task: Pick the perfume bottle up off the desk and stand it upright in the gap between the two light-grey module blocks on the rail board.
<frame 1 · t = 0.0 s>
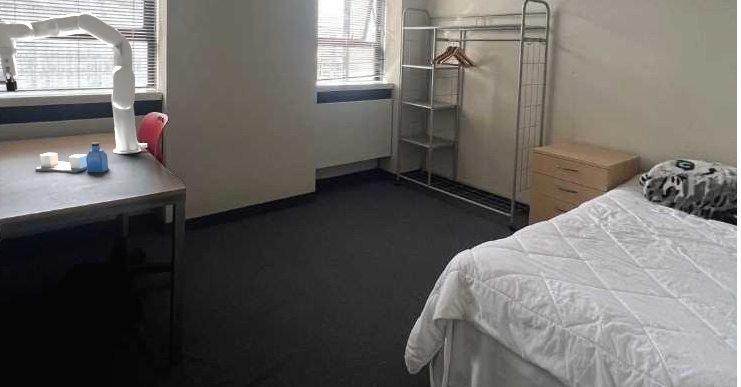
hand: (12, 90, 242), 31 cm above the table, fingers open, 9 cm apart
module rail: (64, 168, 232), on the table
perfume bottle: (98, 170, 230), on the table
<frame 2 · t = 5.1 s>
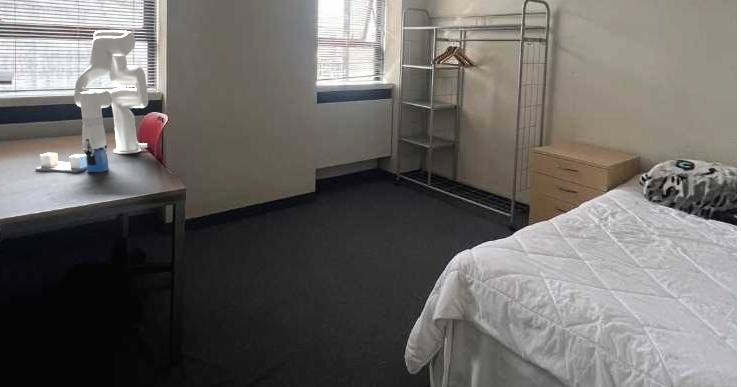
hand: (97, 162, 229), 3 cm above the table, fingers closed on perfume bottle, 7 cm apart
perfume bottle: (98, 170, 230), on the table, touching gripper
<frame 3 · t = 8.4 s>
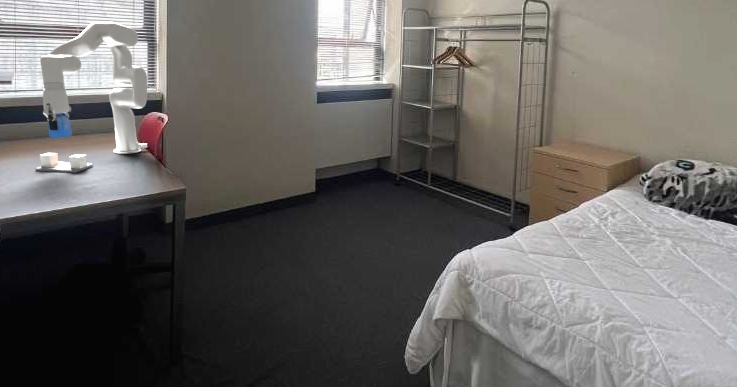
hand: (60, 128, 227), 17 cm above the table, fingers closed on perfume bottle, 7 cm apart
perfume bottle: (61, 136, 228), point 14 cm above the table, touching gripper
when the fingers open (6 cm above the table, at t = 11.5 s): perfume bottle stays where it is, resting on module rail.
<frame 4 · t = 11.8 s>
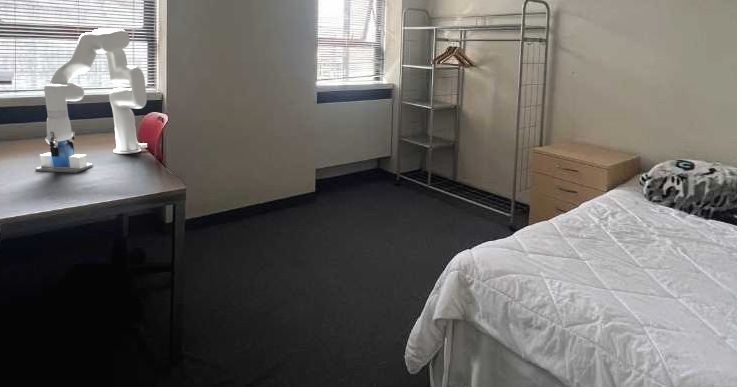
hand: (63, 154, 230), 6 cm above the table, fingers open, 9 cm apart
perfume bottle: (64, 165, 231), point 1 cm above the table, touching module rail
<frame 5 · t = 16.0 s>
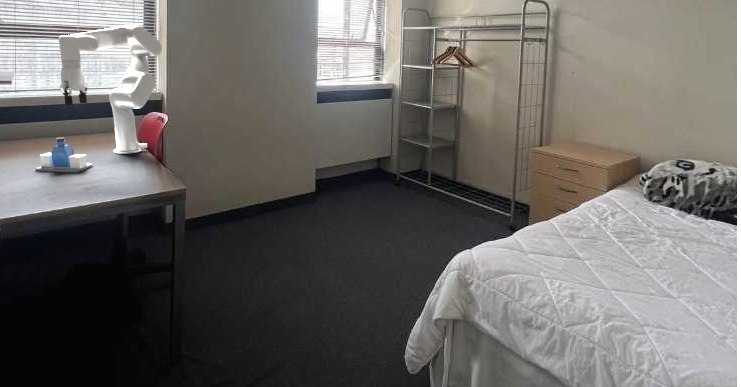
hand: (76, 103, 239), 26 cm above the table, fingers open, 9 cm apart
nothing on the table moved.
at the end: perfume bottle 0.2 cm off-centre on the module rail, point 1.2 cm above the module rail's base; perfume bottle tilted 4°; the gripper is holding nothing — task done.
